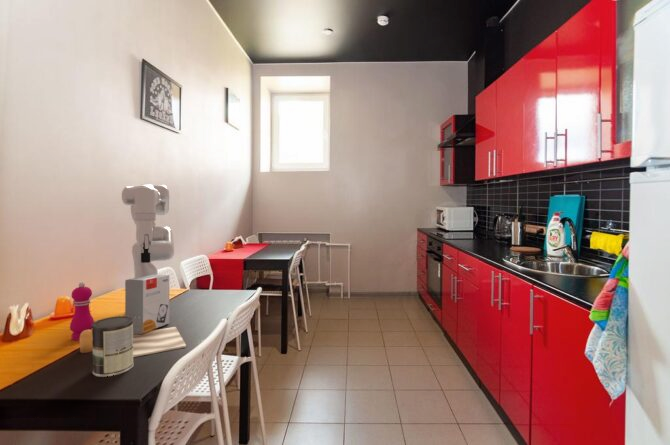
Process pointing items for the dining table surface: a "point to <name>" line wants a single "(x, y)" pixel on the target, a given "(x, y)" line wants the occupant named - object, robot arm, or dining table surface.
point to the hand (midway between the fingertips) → (145, 262)
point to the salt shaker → (86, 341)
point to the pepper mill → (81, 311)
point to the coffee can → (112, 345)
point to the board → (157, 341)
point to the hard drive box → (147, 302)
